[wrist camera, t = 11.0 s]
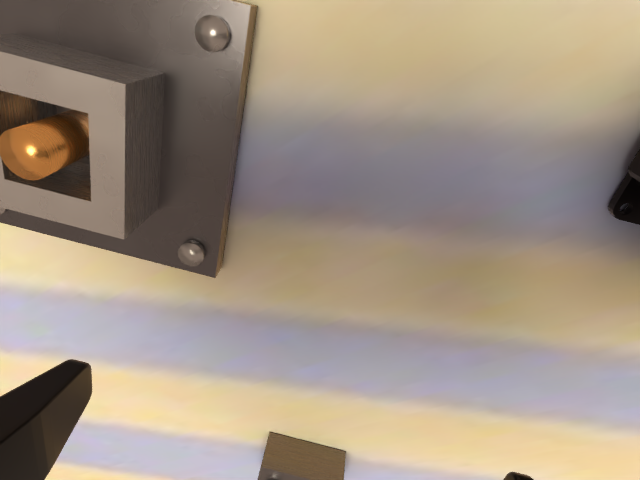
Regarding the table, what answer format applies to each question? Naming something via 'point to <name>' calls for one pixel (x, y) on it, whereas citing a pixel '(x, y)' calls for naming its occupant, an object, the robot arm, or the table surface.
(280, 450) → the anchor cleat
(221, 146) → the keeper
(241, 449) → the table surface
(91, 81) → the socket
